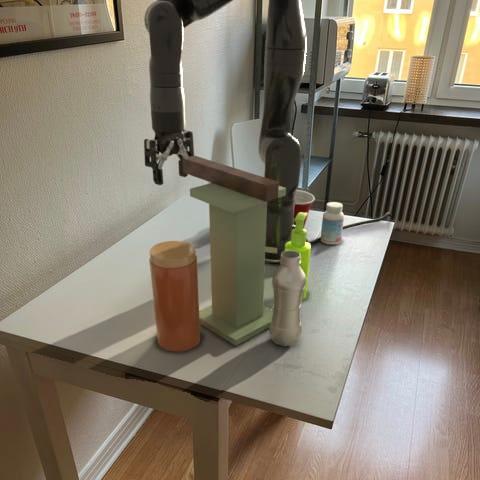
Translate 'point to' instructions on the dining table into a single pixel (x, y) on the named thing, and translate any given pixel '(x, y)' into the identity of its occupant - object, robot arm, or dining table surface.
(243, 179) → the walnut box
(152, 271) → the terracotta jar
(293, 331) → the plastic bottle
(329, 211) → the pill bottle
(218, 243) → the plant stand
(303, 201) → the plastic cup
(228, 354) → the dining table surface
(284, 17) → the robot arm
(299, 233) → the soap dispenser
